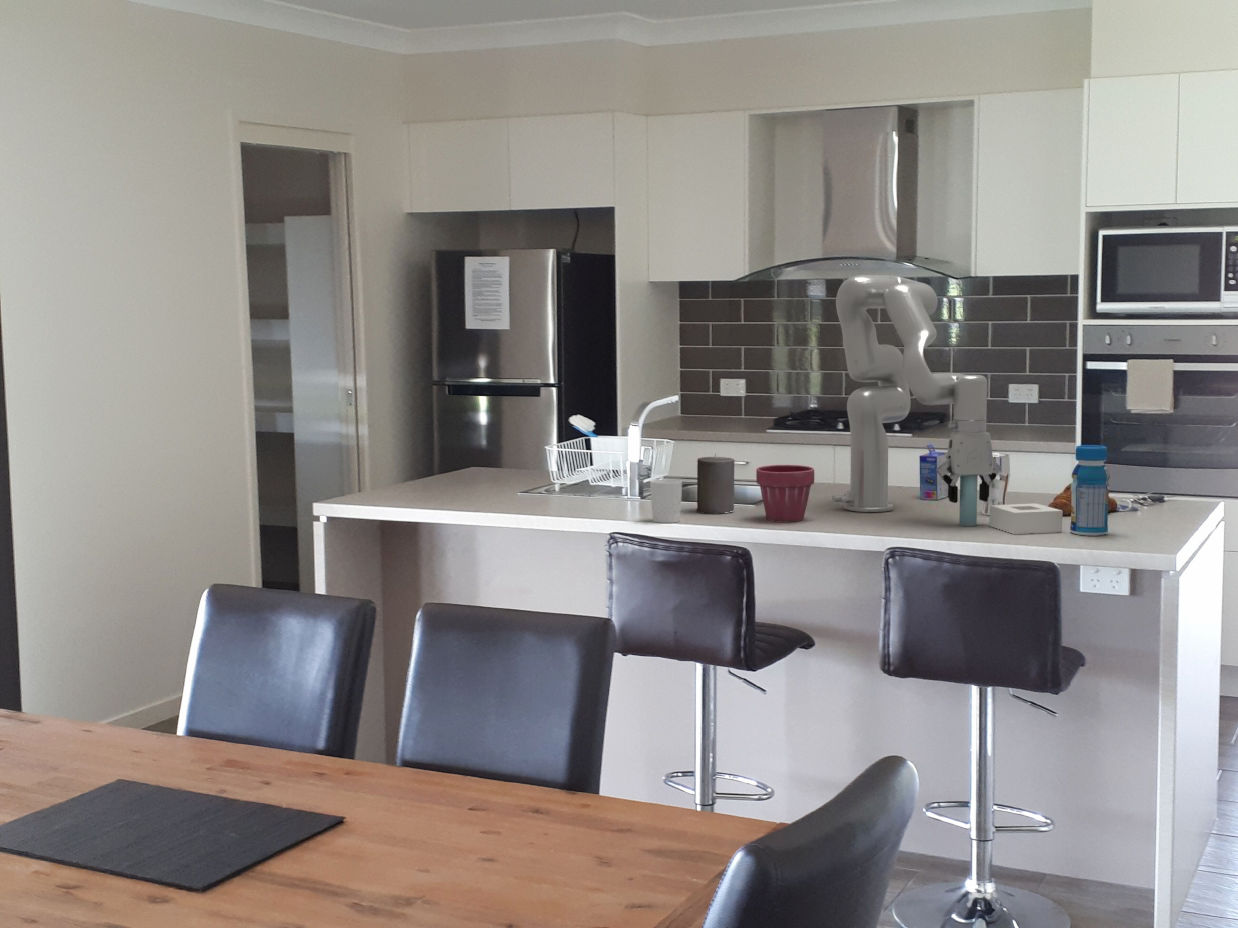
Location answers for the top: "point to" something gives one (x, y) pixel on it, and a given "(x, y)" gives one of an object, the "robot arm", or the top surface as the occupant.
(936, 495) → the ink cartridge box
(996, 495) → the beer glass
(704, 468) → the pillar candle
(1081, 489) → the beverage bottle
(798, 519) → the plant pot
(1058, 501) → the pastry
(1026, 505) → the socket block
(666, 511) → the white cup
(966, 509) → the peg
